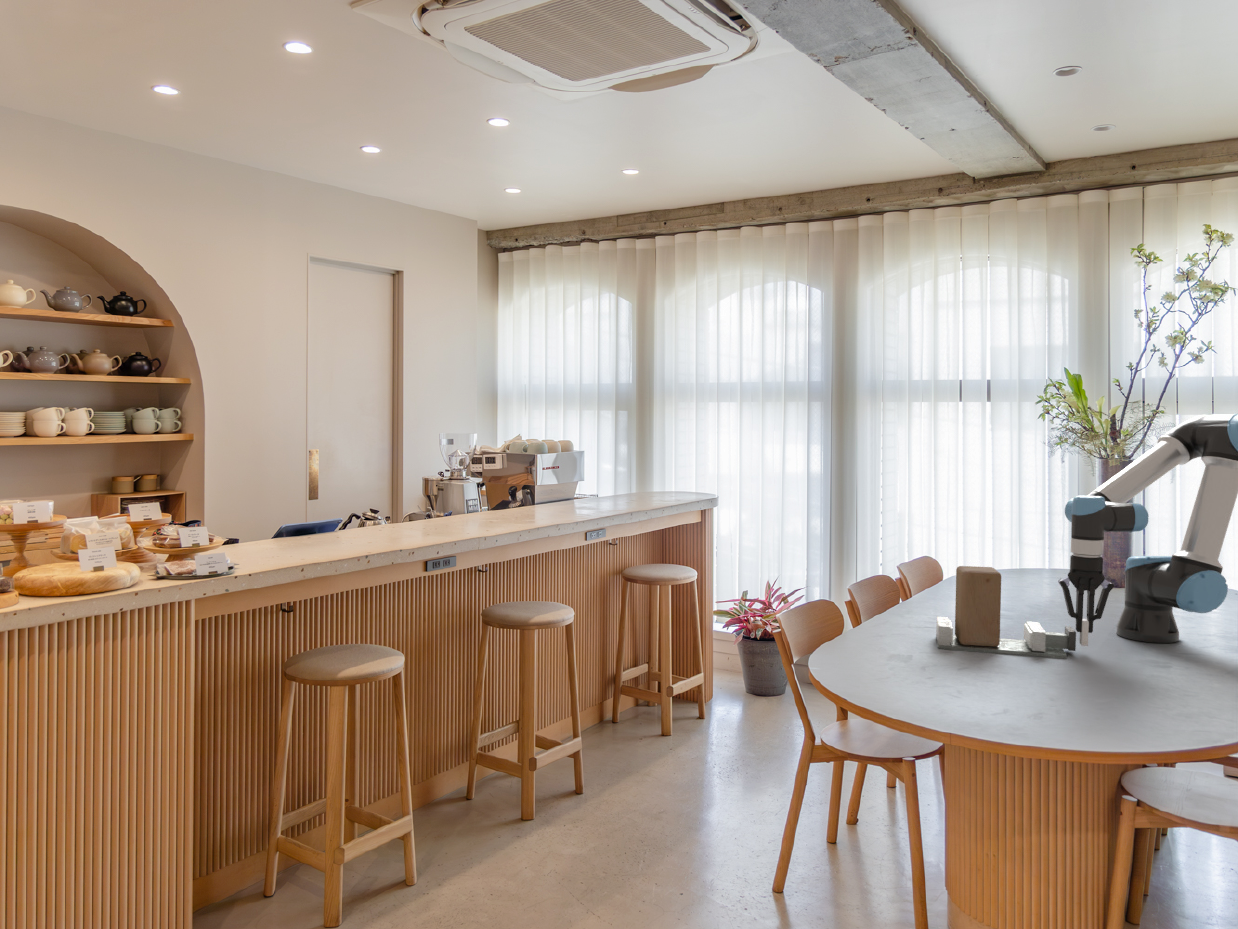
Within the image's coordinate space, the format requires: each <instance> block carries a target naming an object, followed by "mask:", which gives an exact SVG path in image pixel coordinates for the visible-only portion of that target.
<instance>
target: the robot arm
mask: <svg viewBox="0 0 1238 929" xmlns="http://www.w3.org/2000/svg"><path fill="white" fill-rule="evenodd" d="M1197 458H1200V460H1202V463H1204V465H1205V468H1204V471H1203V473H1202V477H1201V480H1200V484H1199V487H1198V491H1197V494H1196V497H1195V500H1194V504H1193V508H1192V511H1191V514H1190V518H1189V521H1188V524H1187V528H1186V530H1185V534H1184V537H1183V541H1182V545H1181V547H1180V550H1179V551H1178V552H1175V553H1173V554H1172V555H1170V556H1169V555H1168V556H1167V555H1135V556H1130V557H1128V558H1127V559H1126V561H1125V562H1126V563H1125V569H1124V607H1123V610H1122V612H1121V615H1120V618H1119V620H1118V621H1117V625H1116V635H1118V636H1119V637H1123V638H1125V639H1129V640H1133V641H1138V642H1146V643H1156V644H1169V643H1177V642H1179V640H1180V631H1179V628H1178V625H1177V622H1176V619H1175V616H1174V612H1173V608H1175V609H1180V610H1183V611H1186V612H1189V613H1195V614H1207V613H1210V612H1212V611H1214V610H1217V609H1219V607H1220V606H1221V605H1222V604H1223V603H1224V602H1225V600H1226V598H1227V595H1228V592H1229V588H1228V586H1229V585H1228V584H1227V578H1225V577H1224V576H1223V575H1222V572H1223V566H1222V564H1221V562H1220V561H1219V559H1220V558H1219V557H1220V555H1221V552H1222V548H1223V544H1224V540H1225V538H1226V535H1227V534H1226V533H1227V531H1228V527H1229V525H1230V521H1231V517H1232V514H1233V511H1234V508H1235V503H1236V500H1237V498H1238V413H1233V414H1230V413H1229V414H1228V413H1226V414H1224V413H1223V414H1219V413H1218V414H1213V413H1210V414H1209V413H1208V414H1202V415H1197V416H1193V417H1192V418H1189V419H1187V420H1186V421H1184V422H1182V423H1180V424H1178V425H1176V426H1175V427H1173V428H1171V429H1170V430H1169V431H1167V432H1166V433H1164V434H1162V435H1161V436H1160V437H1159V438H1158V439H1157V444H1156V445H1155V446H1153V447H1152V448H1150V449H1148V450H1147V451H1146V452H1144V453H1143V454H1142V455H1141V456H1139V457H1138V458H1137V459H1135V460H1134V461H1132V462H1131V463H1130V464H1128V465H1127V466H1125V468H1123V469H1122V470H1120V471H1119V472H1117V473H1115V475H1113V476H1112V477H1111V478H1109V479H1108V480H1107V481H1105V482H1104V483H1102V484H1101V485H1099V486H1098V487H1097V488H1096V489H1093V491H1091V492H1090V493H1089V494H1087V495H1085V494H1083V495H1082V494H1081V495H1077V496H1074V497H1073V498H1071V499H1069V500H1068V501H1067V502H1066V503H1065V507H1064V515H1065V517H1066V519H1067V520H1068V522H1070V523H1071V529H1070V530H1071V531H1070V534H1071V535H1070V536H1071V538H1070V553H1072V554H1071V555H1070V556H1069V557H1070V559H1069V560H1070V561H1069V563H1070V564H1069V572H1068V573H1067V577H1064V578H1062V579H1058V581H1057V582H1058V584H1059V585H1060V588H1062V593H1063V597H1064V602H1065V605H1066V609H1067V614H1068V615H1069V616H1070V618H1073V619H1075V631H1076V633H1079V645H1081V646H1082V647H1088V646H1089V634H1090V633H1091V634H1092V633H1093V632H1094V621H1096V620H1101V619H1102V618H1103V613H1104V611H1105V608H1106V604H1107V601H1108V597H1109V594H1110V593H1111V591H1112V590H1113V589H1114V587H1115V586H1114V583H1112V582H1111V581H1108V580H1107V579H1106V577H1105V576H1104V572H1103V570H1104V557H1103V555H1104V547H1105V546H1104V544H1105V543H1104V542H1105V541H1104V540H1105V533H1116V532H1117V533H1133V532H1141V531H1143V530H1145V529H1146V528H1147V526H1148V524H1149V512H1148V510H1147V507H1145V506H1144V505H1143V504H1141V503H1135V502H1133V503H1132V502H1129V501H1130V500H1131V499H1134V497H1135V496H1137V495H1138V494H1140V493H1141V492H1142V491H1144V490H1145V489H1147V488H1148V487H1149V486H1151V485H1153V483H1155V482H1157V481H1158V480H1159V479H1160V478H1162V477H1163V476H1165V475H1166V474H1167V473H1169V472H1170V471H1171V470H1172V469H1175V468H1176V467H1177V466H1178V465H1179V466H1183V465H1186V464H1187V463H1189V462H1190V461H1192V460H1194V459H1197ZM1127 502H1128V503H1127ZM1070 582H1071V585H1073V587H1074V588H1075V590H1076V591H1075V592H1076V594H1075V600H1076V601H1075V609H1074V604H1073V601H1072V600H1073V599H1072V596H1071V592H1070V588H1069V586H1070ZM1100 586H1101V587H1102V589H1101V592H1100V594H1099V598H1098V602H1097V604H1096V608H1095V597H1096V590H1097V589H1098V588H1099V587H1100ZM1085 591H1086V595H1087V596H1086V597H1087V599H1086V618H1083V616H1084V596H1085Z"/></svg>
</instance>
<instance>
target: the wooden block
mask: <svg viewBox="0 0 1238 929" xmlns="http://www.w3.org/2000/svg"><path fill="white" fill-rule="evenodd" d="M955 570H956V571H955V611H954V612H955V613H954V614H955V616H954V635H955V636H956V637H957V639H958V640H959V642H960V643H961V644H962V645H972V646H990V647H996V646H999V644H1000V637H1001V610H1002V609H1001V604H1002V603H1001V601H1002V600H1001V599H1002V574H1001V573H1000V572H999V571H998V570H997V569H995V568H994V567H992V566H969V565H968V566H966V565H959V566H957V567H956V569H955Z"/></svg>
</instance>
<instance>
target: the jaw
mask: <svg viewBox="0 0 1238 929" xmlns="http://www.w3.org/2000/svg"><path fill="white" fill-rule="evenodd" d="M1025 622H1026V623H1023V640H1025V641H1026V643H1027V644H1028V646H1029V648H1031V649H1032V651H1044V652H1045V648H1058V649H1063V650H1067V651H1071V652H1076V649H1077V648H1076V646H1077V638H1076V637H1077V631H1076V629H1074V628H1073V626H1066V625H1065V626H1064V632H1055V631H1053V632H1051V631H1045V629H1044V628H1043V627H1042V626H1041V623H1040V622H1037V621H1025Z"/></svg>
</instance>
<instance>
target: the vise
mask: <svg viewBox="0 0 1238 929" xmlns="http://www.w3.org/2000/svg"><path fill="white" fill-rule="evenodd" d="M935 633H936V636H935V639H936V644H937V648H938V650H947V651H948V650H950V651H951V650H952V651H961V652H963V651H964V652H975V653H977V652H978V653H986V654H987V653H989V654H990V653H991V654H1001V655H1013V656H1014V655H1016V656H1025V657H1026V656H1028V657H1029V656H1030V657H1038V658H1039V657H1040V658H1041V657H1042V658H1052V659H1053V658H1054V659H1066V660H1067V659H1068V657H1067V656H1068V654H1067V653H1066V652H1065V649H1058V648H1045V652H1044V651H1032V649H1031V648H1029V646H1028V644H1027V643H1026V641H1025V639H1015V638H1014V639H1013V638H1011V639H1010V638H1000V644H999V646H996V647H990V646H972V645H962V644H961V643H960V642H959V640H958V639H957V637H956V636H955V634H953V633H954V626H953V623H952V620H951V619H949V616H948V617H947V616H936V632H935Z"/></svg>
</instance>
